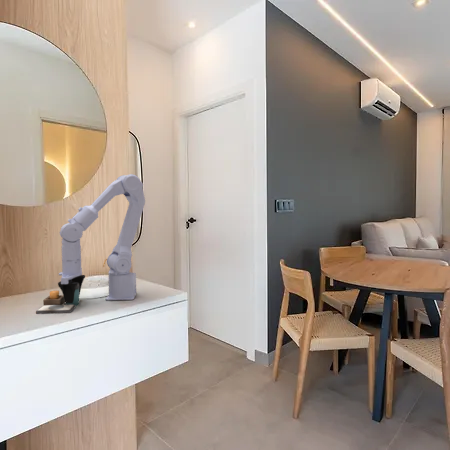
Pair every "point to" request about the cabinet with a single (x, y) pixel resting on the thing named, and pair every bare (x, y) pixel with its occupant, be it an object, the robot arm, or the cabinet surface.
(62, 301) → the button collar
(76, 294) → the cylinder
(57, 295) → the button
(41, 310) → the drawing pad
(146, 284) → the cabinet surface
